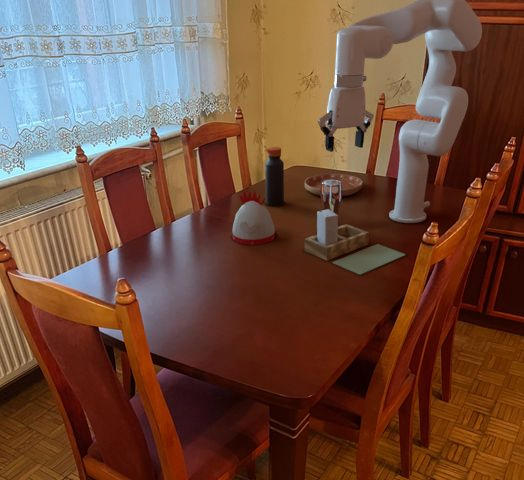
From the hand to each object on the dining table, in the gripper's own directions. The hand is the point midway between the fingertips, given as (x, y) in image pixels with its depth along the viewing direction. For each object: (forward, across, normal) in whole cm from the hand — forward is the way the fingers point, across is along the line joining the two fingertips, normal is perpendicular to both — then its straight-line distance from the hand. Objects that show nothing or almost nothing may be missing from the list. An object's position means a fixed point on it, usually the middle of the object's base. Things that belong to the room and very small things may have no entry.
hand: (344, 148), depth 153 cm
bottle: (+29, -1, -46) cm, 54 cm away
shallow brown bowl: (+29, -28, -48) cm, 63 cm away
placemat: (+29, -3, +13) cm, 32 cm away
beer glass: (+29, -6, -15) cm, 33 cm away
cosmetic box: (+30, +5, +2) cm, 30 cm away
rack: (+29, +1, +1) cm, 29 cm away
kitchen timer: (+30, +20, -20) cm, 41 cm away
